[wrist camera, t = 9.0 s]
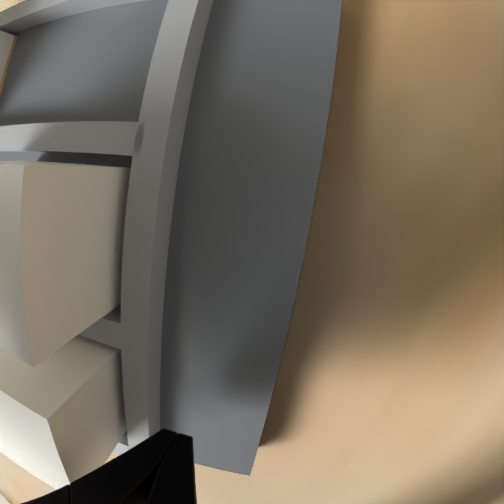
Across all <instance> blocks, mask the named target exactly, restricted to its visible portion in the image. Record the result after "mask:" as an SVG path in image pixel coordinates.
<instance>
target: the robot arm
mask: <svg viewBox="0 0 504 504" xmlns="http://www.w3.org/2000/svg"><path fill="white" fill-rule="evenodd" d="M21 504H197V498H196V484H195V467H194V447H193V437H192V436H189V435H185V434H182V433H179V434H178V433H177V432H175V431H172V430H169V429H165V428H164V429H161V430H160V431H158V432H157V433H155V434H153V435H152V436H150V437H149V438H147V439H146V440H144V441H142V442H141V443H139V444H138V445H136V446H134V447H133V448H131V449H129V450H128V451H126V452H124V453H123V454H121V455H119V456H118V457H116V458H114V459H113V460H111V461H109V462H107V463H106V464H104V465H102V466H100V467H99V468H97V469H95V470H93V471H92V472H90V473H88V474H86V475H84V476H82V477H81V478H79V479H77V480H75V481H73V482H71V483H70V485H69V484H67V485H65V486H63V487H61V488H59V489H57V490H55V491H53V492H51V493H49V494H46V495H44V496H42V497H39V498H36V499H33V500H31V501H28V502H25V503H21Z"/></svg>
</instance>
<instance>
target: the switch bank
mask: <svg viewBox="0 0 504 504" xmlns="http://www.w3.org/2000/svg"><path fill="white" fill-rule="evenodd" d="M341 7H342V0H25V1H23V2H21V3H19V4H17V5H14V6H12V7H10V8H8V9H6V10H4V11H2V12H0V30H1V31H4V32H6V33H9V34H12V35H14V36H15V38H14V41H13V44H12V47H11V50H10V53H9V56H8V60H7V63H6V66H5V70H4V74H3V78H2V81H1V85H0V161H45V162H63V163H78V164H91V165H103V166H114V167H125V168H131V171H130V179H129V187H128V196H127V205H126V216H125V227H124V240H123V256H122V277H121V304H120V305H119V306H117V307H116V308H114V309H113V310H111V311H110V312H109V313H107V314H106V315H105V316H103V317H102V318H100V319H99V320H98V321H96V322H95V323H93V324H92V325H91V326H89V327H88V328H87V329H85V330H84V331H82V332H81V333H80V334H79V335H81V336H84V337H86V338H89V339H92V340H94V341H97V342H100V343H103V344H105V345H108V346H111V347H114V348H117V349H120V350H121V359H122V380H123V395H124V407H125V418H126V428H127V431H126V433H125V434H124V436H123V437H122V438H121V440H120V441H119V443H118V444H117V446H116V447H115V449H114V450H113V452H112V453H115V454H117V455H121V454H123V453H124V452H126V451H128V450H129V449H131V448H133V447H134V446H136V445H138V444H139V443H141V442H142V441H144V440H146V439H147V438H149V437H150V436H152V435H153V434H155V433H157V432H158V431H160V430H161V429H164V428H165V429H169V430H172V431H175V432H177V433H178V434H179V433H182V434H185V435H189V436H192V437H193V447H194V463H196V464H200V465H204V466H208V467H212V468H216V469H220V470H225V471H229V472H234V473H239V474H244V475H249V476H250V473H251V470H252V467H253V463H254V460H255V456H256V453H257V449H258V446H259V442H260V439H261V435H262V431H263V428H264V424H265V420H266V417H267V413H268V409H269V406H270V402H271V398H272V394H273V390H274V386H275V382H276V378H277V374H278V370H279V366H280V362H281V358H282V354H283V350H284V346H285V341H286V337H287V333H288V329H289V324H290V320H291V315H292V311H293V306H294V302H295V297H296V293H297V288H298V283H299V279H300V274H301V269H302V264H303V259H304V254H305V249H306V244H307V239H308V234H309V229H310V224H311V218H312V213H313V207H314V202H315V196H316V191H317V185H318V179H319V173H320V167H321V161H322V155H323V149H324V143H325V136H326V129H327V123H328V116H329V109H330V102H331V95H332V87H333V79H334V72H335V63H336V55H337V46H338V37H339V28H340V18H341Z"/></svg>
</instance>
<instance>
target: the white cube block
mask: <svg viewBox="0 0 504 504" xmlns="http://www.w3.org/2000/svg"><path fill="white" fill-rule="evenodd" d="M130 171H131V168H125V167H114V166H103V165H91V164H78V163H63V162H45V161H0V348H1V349H3V350H5V351H6V352H8V353H10V354H11V355H13V356H15V357H16V358H18V359H20V360H22V361H23V362H25V363H27V364H29V365H31V366H32V367H35V366H37V365H38V364H39V363H41V362H42V361H43V360H44V359H46V358H47V357H49V356H50V355H51V354H53V353H54V352H55V351H57V350H58V349H59V348H61V347H62V346H63V345H65V344H66V343H67V342H69V341H70V340H71V339H73V338H74V337H76V336H77V335H78V334H80V333H81V332H82V331H84V330H85V329H87V328H88V327H89V326H91V325H92V324H93V323H95V322H96V321H98V320H99V319H100V318H102V317H103V316H105V315H106V314H107V313H109V312H110V311H111V310H113V309H114V308H116V307H117V306H119V305H120V304H121V277H122V256H123V240H124V227H125V216H126V205H127V196H128V187H129V179H130Z"/></svg>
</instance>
